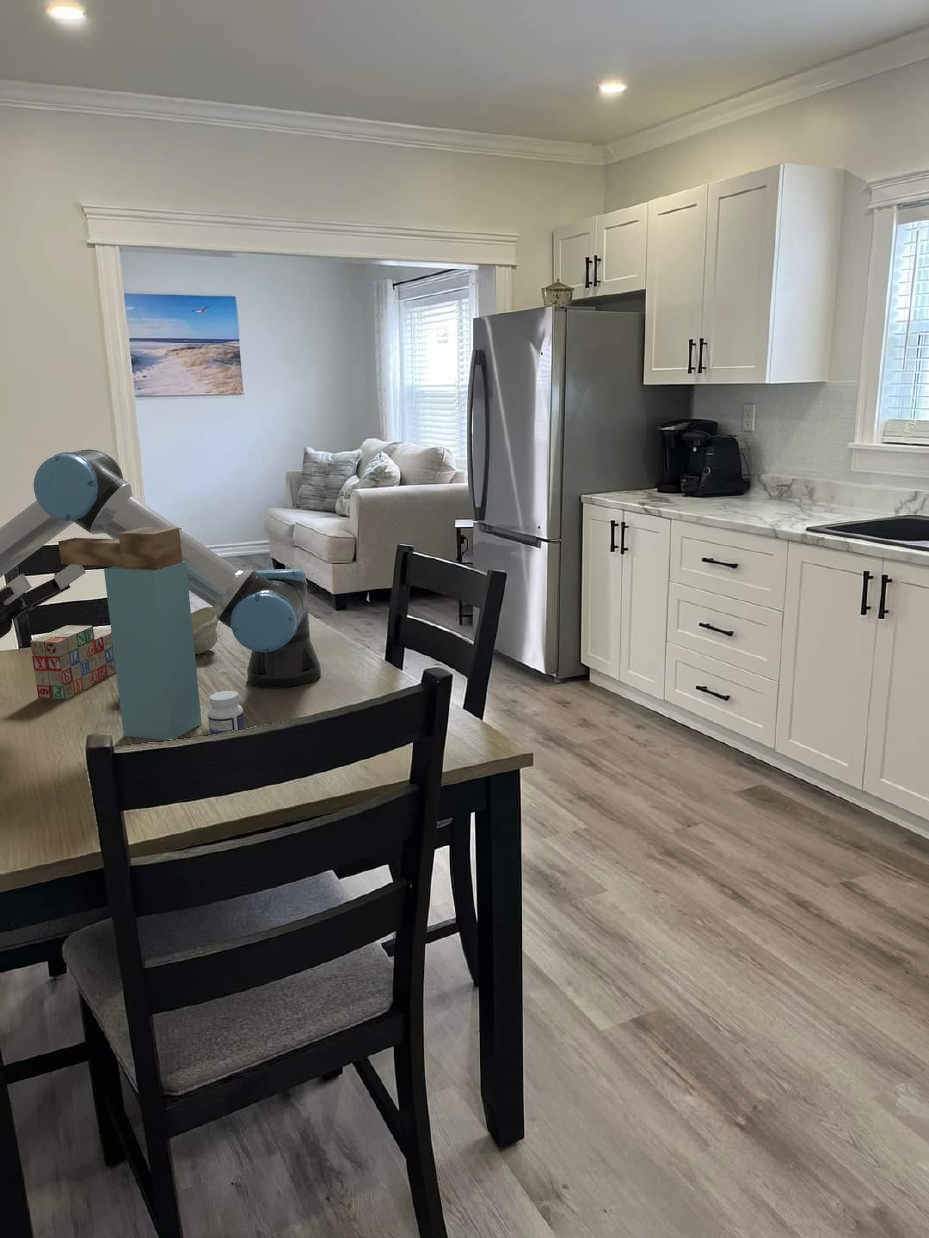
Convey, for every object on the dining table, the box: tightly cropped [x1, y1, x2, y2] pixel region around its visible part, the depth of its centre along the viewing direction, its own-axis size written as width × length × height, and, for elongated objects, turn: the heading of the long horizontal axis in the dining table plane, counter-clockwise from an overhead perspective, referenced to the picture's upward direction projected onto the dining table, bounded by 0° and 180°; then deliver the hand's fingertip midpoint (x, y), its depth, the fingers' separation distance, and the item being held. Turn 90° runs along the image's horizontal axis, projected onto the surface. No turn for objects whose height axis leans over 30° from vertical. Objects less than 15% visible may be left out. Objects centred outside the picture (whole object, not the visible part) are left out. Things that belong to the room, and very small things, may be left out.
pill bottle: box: [207, 690, 246, 735], centre depth 155 cm, size 6×6×10 cm
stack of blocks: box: [29, 625, 116, 701], centre depth 194 cm, size 21×6×12 cm, turn 169°
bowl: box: [191, 606, 220, 655], centre depth 215 cm, size 15×14×10 cm
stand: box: [103, 561, 203, 741], centre depth 163 cm, size 10×9×30 cm
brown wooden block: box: [57, 527, 182, 570], centre depth 161 cm, size 21×7×6 cm, turn 72°
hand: (54, 573), depth 166 cm, fingers open, 13 cm apart
